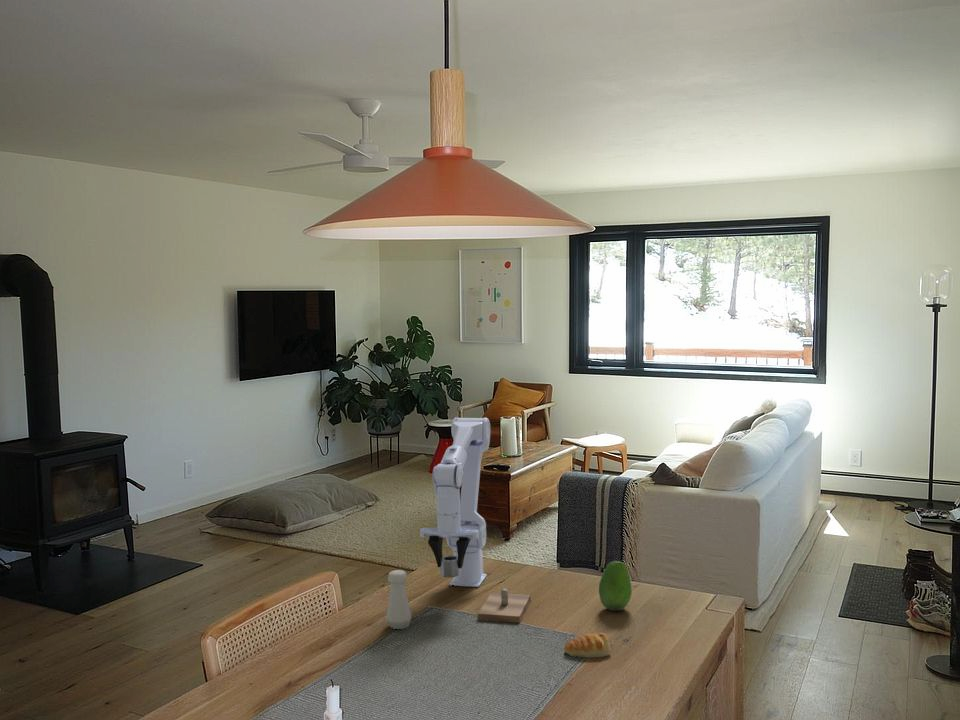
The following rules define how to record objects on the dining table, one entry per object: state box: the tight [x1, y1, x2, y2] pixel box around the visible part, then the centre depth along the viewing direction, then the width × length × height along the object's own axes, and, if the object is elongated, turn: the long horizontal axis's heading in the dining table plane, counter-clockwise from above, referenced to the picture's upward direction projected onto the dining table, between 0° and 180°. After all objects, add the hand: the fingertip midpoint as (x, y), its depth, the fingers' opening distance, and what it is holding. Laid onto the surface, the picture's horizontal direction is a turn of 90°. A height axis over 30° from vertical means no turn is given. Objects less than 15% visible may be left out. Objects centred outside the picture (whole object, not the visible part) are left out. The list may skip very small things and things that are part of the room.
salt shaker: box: [385, 569, 412, 630], centre depth 190 cm, size 6×6×13 cm
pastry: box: [564, 632, 612, 659], centre depth 174 cm, size 9×7×4 cm
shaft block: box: [477, 588, 531, 624], centre depth 198 cm, size 14×10×5 cm
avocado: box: [598, 560, 632, 612], centre depth 196 cm, size 8×8×12 cm
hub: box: [439, 555, 460, 579], centre depth 203 cm, size 5×5×4 cm
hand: (450, 566), depth 203 cm, fingers closed on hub, 5 cm apart
